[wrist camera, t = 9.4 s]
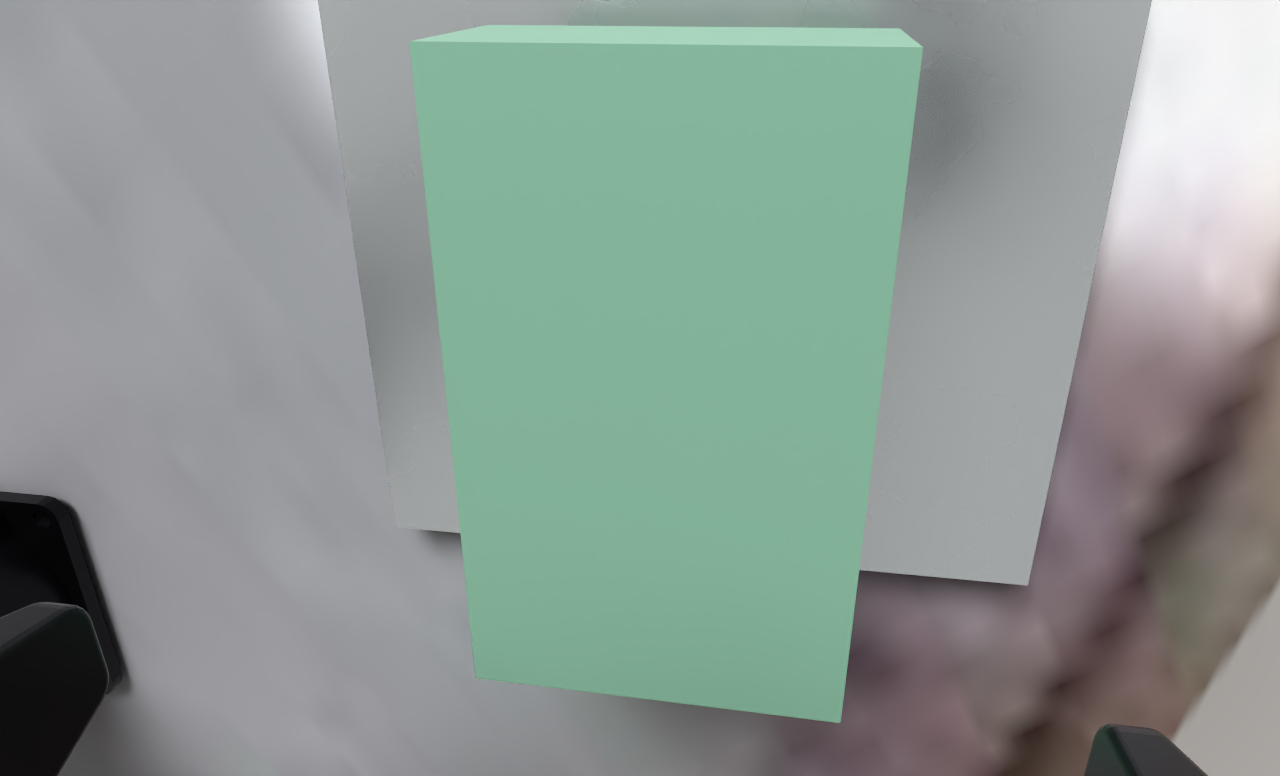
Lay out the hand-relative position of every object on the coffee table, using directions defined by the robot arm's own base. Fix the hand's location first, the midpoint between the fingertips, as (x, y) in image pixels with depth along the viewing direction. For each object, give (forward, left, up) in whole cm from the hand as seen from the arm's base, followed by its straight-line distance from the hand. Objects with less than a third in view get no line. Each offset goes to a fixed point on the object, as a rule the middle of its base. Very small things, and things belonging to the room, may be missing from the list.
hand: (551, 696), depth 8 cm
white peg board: (0, 0, -12) cm, 12 cm away
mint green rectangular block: (0, 0, -8) cm, 8 cm away
